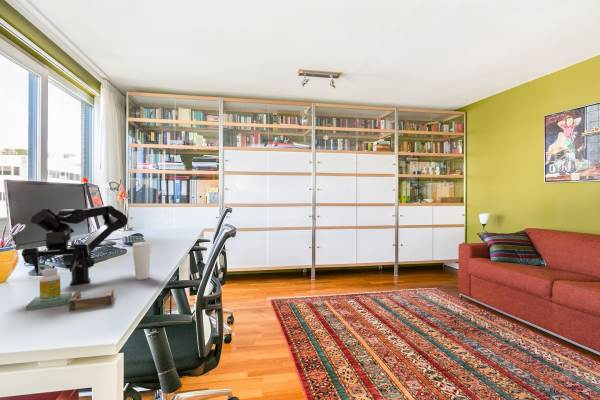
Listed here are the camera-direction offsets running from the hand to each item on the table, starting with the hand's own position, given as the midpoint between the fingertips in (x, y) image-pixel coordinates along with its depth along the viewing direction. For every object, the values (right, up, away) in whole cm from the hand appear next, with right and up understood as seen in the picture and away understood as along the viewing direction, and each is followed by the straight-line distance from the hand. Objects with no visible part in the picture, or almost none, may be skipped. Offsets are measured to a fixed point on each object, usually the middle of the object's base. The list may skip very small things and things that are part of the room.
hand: (54, 273), depth 109 cm
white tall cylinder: (+18, -8, +24) cm, 32 cm away
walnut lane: (+17, -8, -6) cm, 20 cm away
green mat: (+2, -9, -4) cm, 10 cm away
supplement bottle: (+2, -8, -4) cm, 9 cm away
